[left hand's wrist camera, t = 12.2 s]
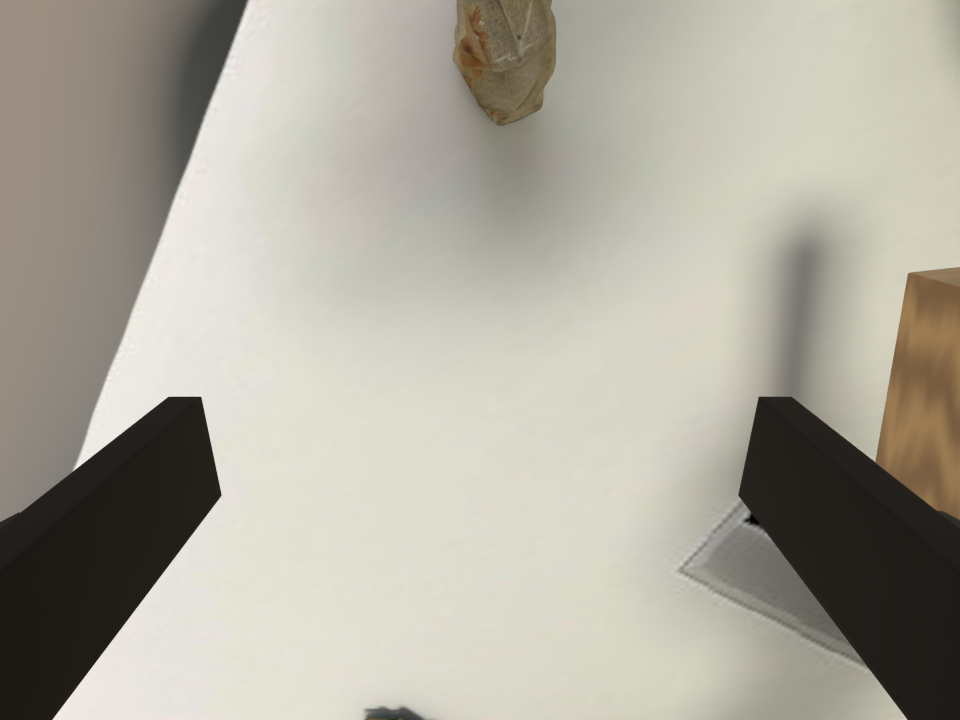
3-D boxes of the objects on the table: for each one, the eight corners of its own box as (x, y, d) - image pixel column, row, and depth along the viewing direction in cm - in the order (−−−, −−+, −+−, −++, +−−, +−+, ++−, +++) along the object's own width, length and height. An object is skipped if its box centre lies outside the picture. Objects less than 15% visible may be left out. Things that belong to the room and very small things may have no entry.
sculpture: (523, -4, 36) (550, -103, 22) (554, 107, 39) (595, 81, 25) (442, 30, 37) (419, -46, 23) (477, 136, 39) (476, 127, 25)
